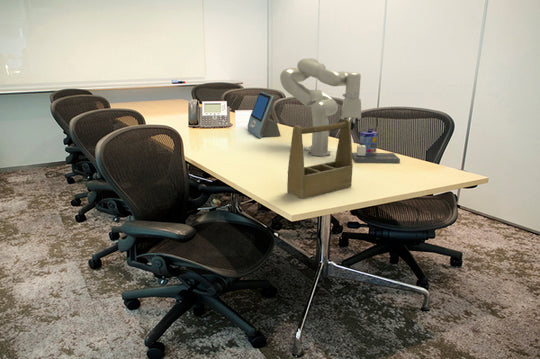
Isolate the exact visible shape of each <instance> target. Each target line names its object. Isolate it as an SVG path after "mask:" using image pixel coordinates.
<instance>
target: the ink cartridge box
mask: <svg viewBox="0 0 540 359" xmlns="http://www.w3.org/2000/svg"><path fill="white" fill-rule="evenodd" d="M378 136H379V132H377V131H374V128H369V129H368V130H367V131H362V132H360V134H359V144H358V145H365V146H366V153H377V145H378Z"/></svg>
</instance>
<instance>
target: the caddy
mask: <svg viewBox="0 0 540 359" xmlns="http://www.w3.org/2000/svg"><path fill="white" fill-rule="evenodd" d="M334 130H340V132H339V135H338V136H339V137H338V141H337V148H336V154H335V159H334V161H328V162H324V163H319V164H314V165H310V166H305V156H304V145H303V135H305V134H306V135H307V134H312V133H315V132H321V131H334ZM291 135H292V136H291V142H290V143H291V144H290V150H289V155H288V156H289V157H288V166H287V183H286V184H287V189H286V190H287V194H290V195H292V196H295V197H296V196H297V198H300V199H302V200H304V199H307V198H312V197H315V196H320V195H323V194H327V193H331V192H334V191H335V192H337V191H339V190H343V189H346V188H350V187H352V185H353V184H352V182H353V181H352V180H353V177H352V176H353V163H354V162H353V158H352V153H353V145H352V130H351V121H350V119H349V120H348V119H342V121H341V122H338V123H337V122H336V123H329V125H323V126H313V125H312V126H307V127H306V126H305V127H301V126H300V125H294V126H293V128H292V134H291Z"/></svg>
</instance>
